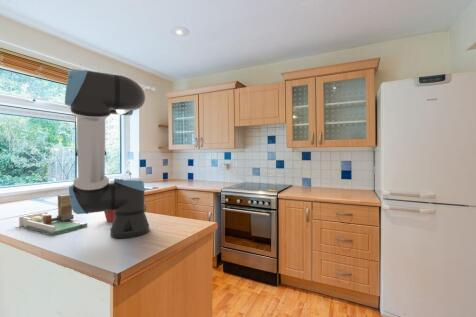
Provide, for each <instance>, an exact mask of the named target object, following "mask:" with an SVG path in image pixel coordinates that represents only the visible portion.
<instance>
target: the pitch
mask: <svg viewBox="0 0 476 317" xmlns="http://www.w3.org/2000/svg"><path fill="white" fill-rule="evenodd" d="M46 215H48V211H42V212H36V213H31V214H25V215H21V216H18V226H19V227H25V228H26V229H28V230H32V231H36V232H40V233H43V234H46V235H50V236H58V235H61V234H64V233H68V232H71V231H75V230H80V229H82V228H81V225H80V224H75V223H70V222H66V221H61V220H57V221H52V223H49V224H43V216H46ZM35 216H40V217H41V218H42V222H34V221H32V218H33V217H35Z"/></svg>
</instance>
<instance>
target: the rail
mask: <svg viewBox="0 0 476 317" xmlns="http://www.w3.org/2000/svg"><path fill="white" fill-rule="evenodd" d="M66 222H70V223H75V224H80V225H81V228H80V229H82V228H86V227H88V223H87V222H83V221H77V220H74V219H71V220H67V221H66Z"/></svg>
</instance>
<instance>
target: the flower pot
mask: <svg viewBox="0 0 476 317" xmlns="http://www.w3.org/2000/svg"><path fill="white" fill-rule="evenodd" d="M103 212H104V216H105V220H106V222H108V223H113V221H114V218H115V210H110V211H103Z"/></svg>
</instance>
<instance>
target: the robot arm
mask: <svg viewBox="0 0 476 317" xmlns="http://www.w3.org/2000/svg"><path fill="white" fill-rule="evenodd" d="M66 78H67V79H66V84H65V85H66V86H65V96H64V105H65V106H67V107H69V108H70V110H69V111H70V113H71V114H73V115H74V116H75V120H76V144H77V145H76V146H77V147H76V148H77V149H76V151H75V156H76V157H77V177H76V178H74V180H73V182H72V183H73V184H69V186H68V194H69V195H70V202H71V207H72V213H74V214H77V215H84V214H86V215H88V214H93V213H101V212H104V211H110V210H115V218H114V221H113V222H112V225H111V227H110V230H109V231H110V237H112V238H114V239H130V238H136V237H139V236H143V235H145V234H147V233H149V231H150V224H149V221H148V218H147V215H146V212H145V204H146V203H145V200H146V199H145V192H146V190H145V183H144V181H143V180H141V179H139V178H128V177H116V178H114V179H113V181H110V180H109V178H108V177H107V176H106V174H105V171H106V170H105V168H106V167H105V166H106V161H105V160H106V156H107V151H106V119H107V118H109V116H111V115H118V116H132V115H133V114H134V111H136V110H138V109H141V108H142V106H144V104H145V101H146V93H145V91H144V89H143V88H142V87H141V85H139V84H138V82H137V81H135V80H133V79H131V78H129V77H127V76H124V75H119V74H113V73H107V72H101V71H94V70H89V69H80V68H79V69H78V68H72V69H70V70H69V71H68V73H67V77H66Z"/></svg>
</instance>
